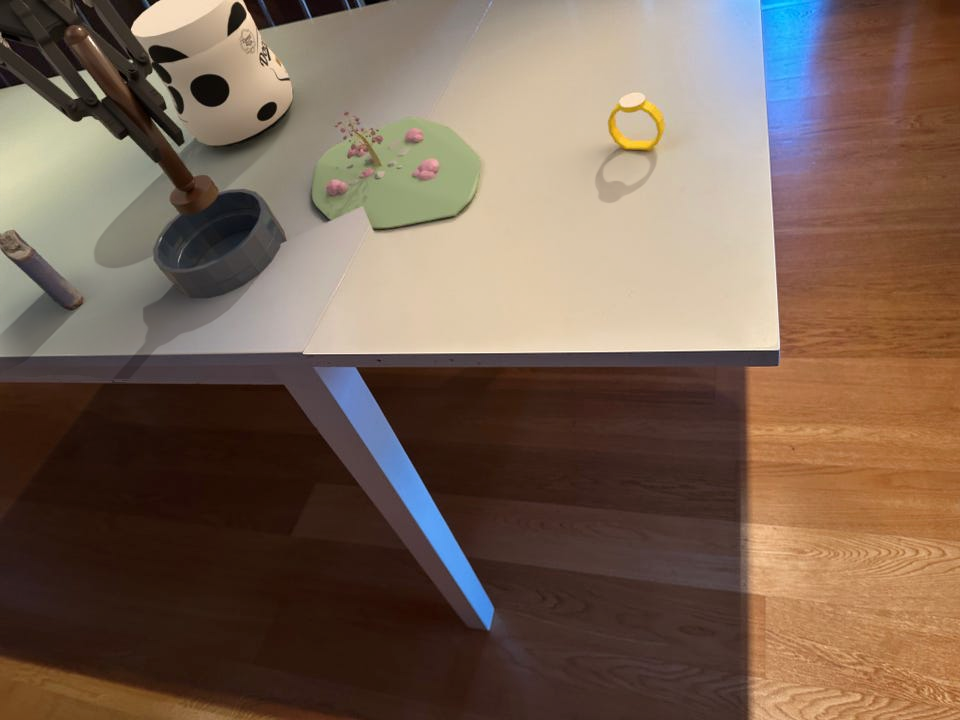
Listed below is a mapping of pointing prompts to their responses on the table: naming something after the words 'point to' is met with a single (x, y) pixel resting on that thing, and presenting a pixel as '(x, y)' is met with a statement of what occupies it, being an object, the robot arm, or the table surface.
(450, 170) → the plant
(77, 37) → the masher
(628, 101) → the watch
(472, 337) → the table surface
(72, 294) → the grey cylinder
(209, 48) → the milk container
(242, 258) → the bowl
